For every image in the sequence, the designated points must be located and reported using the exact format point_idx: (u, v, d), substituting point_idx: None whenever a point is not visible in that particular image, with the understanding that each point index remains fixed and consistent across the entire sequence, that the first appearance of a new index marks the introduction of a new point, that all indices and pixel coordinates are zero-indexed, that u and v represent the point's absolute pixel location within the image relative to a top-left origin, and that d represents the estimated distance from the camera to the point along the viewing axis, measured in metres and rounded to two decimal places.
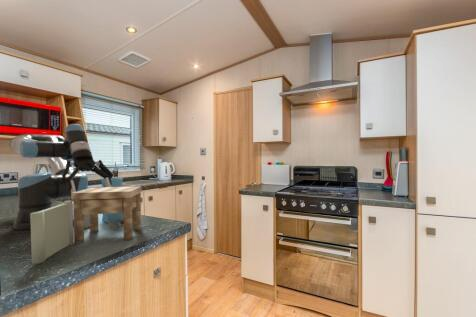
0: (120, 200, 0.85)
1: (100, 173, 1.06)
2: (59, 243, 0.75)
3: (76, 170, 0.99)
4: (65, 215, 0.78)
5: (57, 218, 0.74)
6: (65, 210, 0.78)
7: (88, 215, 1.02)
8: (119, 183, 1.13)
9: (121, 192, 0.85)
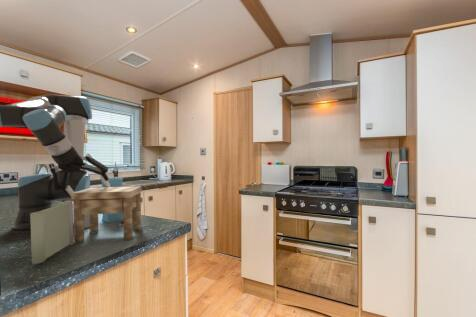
0: (120, 200, 0.85)
1: None
2: (59, 243, 0.75)
3: (65, 177, 0.89)
4: (65, 215, 0.78)
5: (57, 218, 0.74)
6: (65, 210, 0.78)
7: (88, 215, 1.02)
8: (119, 183, 1.13)
9: (121, 192, 0.85)
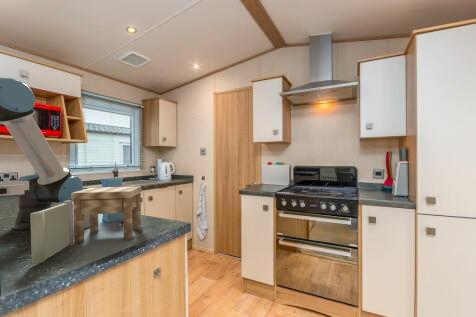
0: (120, 200, 0.85)
1: None
2: (59, 243, 0.75)
3: None
4: (65, 215, 0.78)
5: (57, 218, 0.74)
6: (65, 210, 0.78)
7: (88, 215, 1.02)
8: (119, 183, 1.13)
9: (121, 192, 0.85)
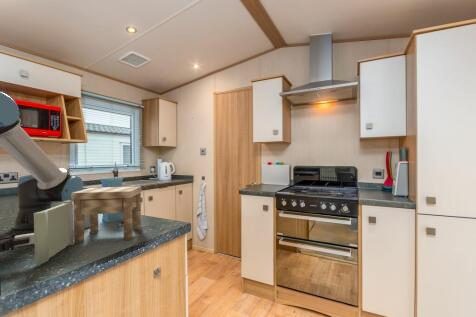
0: (120, 200, 0.85)
1: None
2: (60, 243, 0.75)
3: None
4: (66, 215, 0.78)
5: (59, 218, 0.74)
6: (66, 210, 0.78)
7: (88, 215, 1.02)
8: (119, 183, 1.13)
9: (121, 192, 0.85)
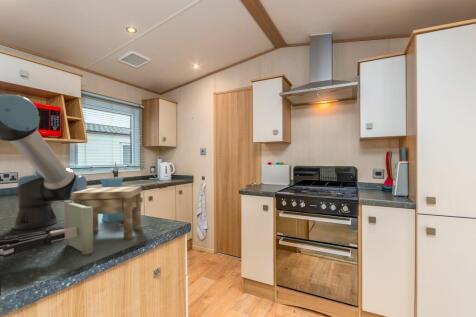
0: (120, 200, 0.85)
1: None
2: None
3: None
4: None
5: None
6: None
7: None
8: (119, 183, 1.13)
9: (121, 192, 0.85)
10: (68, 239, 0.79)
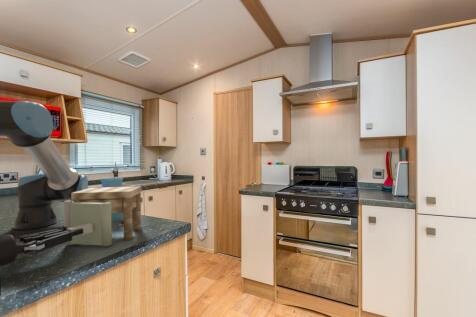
0: (120, 200, 0.85)
1: None
2: None
3: None
4: None
5: None
6: None
7: None
8: (119, 183, 1.13)
9: (121, 192, 0.85)
10: None
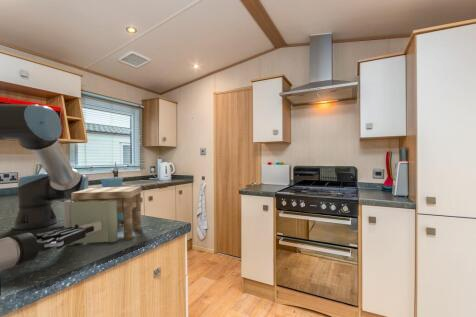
0: (120, 200, 0.85)
1: None
2: None
3: None
4: None
5: None
6: None
7: None
8: (119, 183, 1.13)
9: (121, 192, 0.85)
10: None
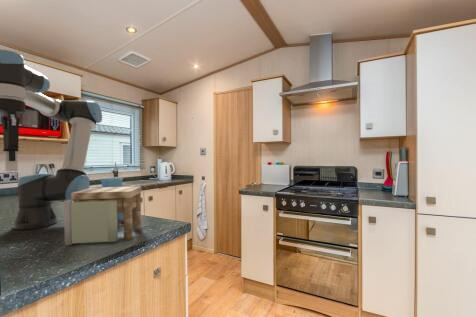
0: (120, 200, 0.85)
1: None
2: None
3: (4, 133, 0.77)
4: None
5: None
6: None
7: None
8: (119, 183, 1.13)
9: (121, 192, 0.85)
10: (73, 238, 0.80)
